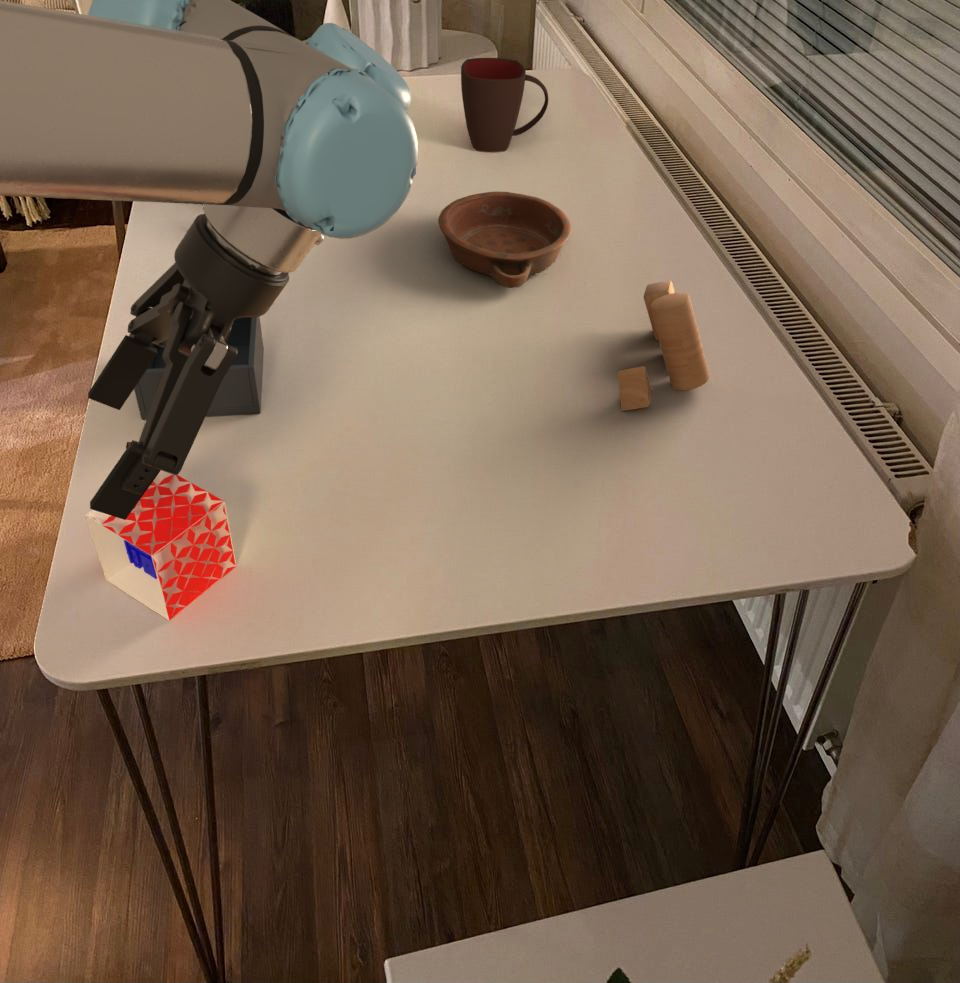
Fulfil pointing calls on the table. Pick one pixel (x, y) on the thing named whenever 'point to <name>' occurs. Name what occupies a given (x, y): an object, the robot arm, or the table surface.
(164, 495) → the red patterned cube
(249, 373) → the bin
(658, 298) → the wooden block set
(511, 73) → the cup
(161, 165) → the robot arm
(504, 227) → the dish
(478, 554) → the table surface
